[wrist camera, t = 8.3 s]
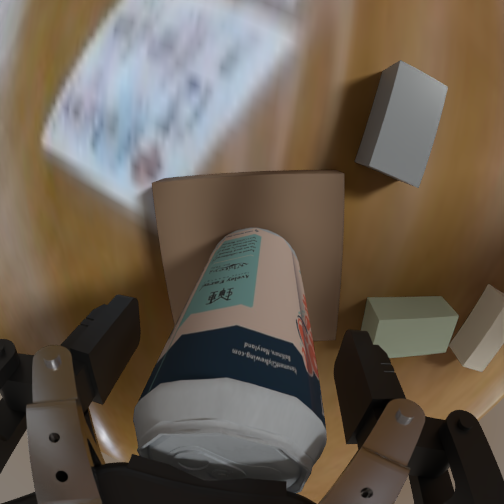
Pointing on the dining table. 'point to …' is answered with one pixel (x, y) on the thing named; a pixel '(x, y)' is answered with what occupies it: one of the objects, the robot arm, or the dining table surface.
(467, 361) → the cream brick
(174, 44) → the dining table surface
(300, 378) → the beer can
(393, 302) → the sage brick
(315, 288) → the walnut slab
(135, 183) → the dining table surface
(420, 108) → the slate brick
